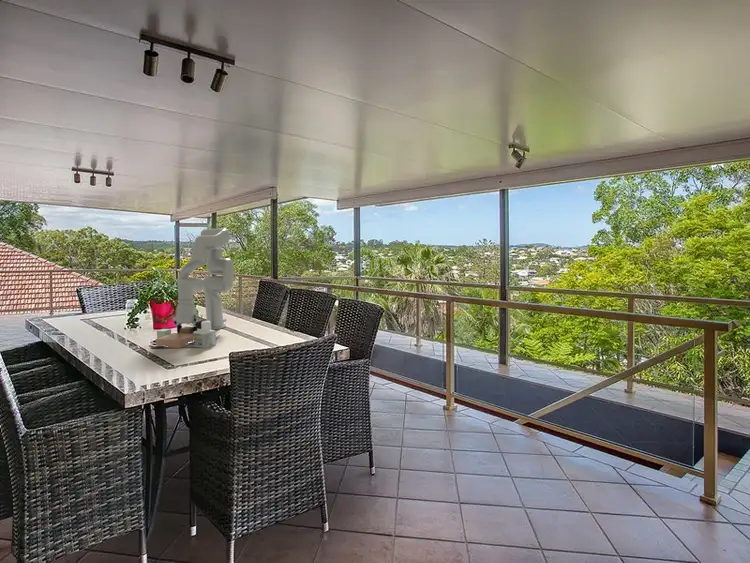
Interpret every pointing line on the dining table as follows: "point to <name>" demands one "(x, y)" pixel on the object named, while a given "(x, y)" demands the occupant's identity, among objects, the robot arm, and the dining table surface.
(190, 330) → the walnut block
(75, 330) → the dining table surface
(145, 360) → the dining table surface
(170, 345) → the plinth
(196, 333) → the container
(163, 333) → the sage block
